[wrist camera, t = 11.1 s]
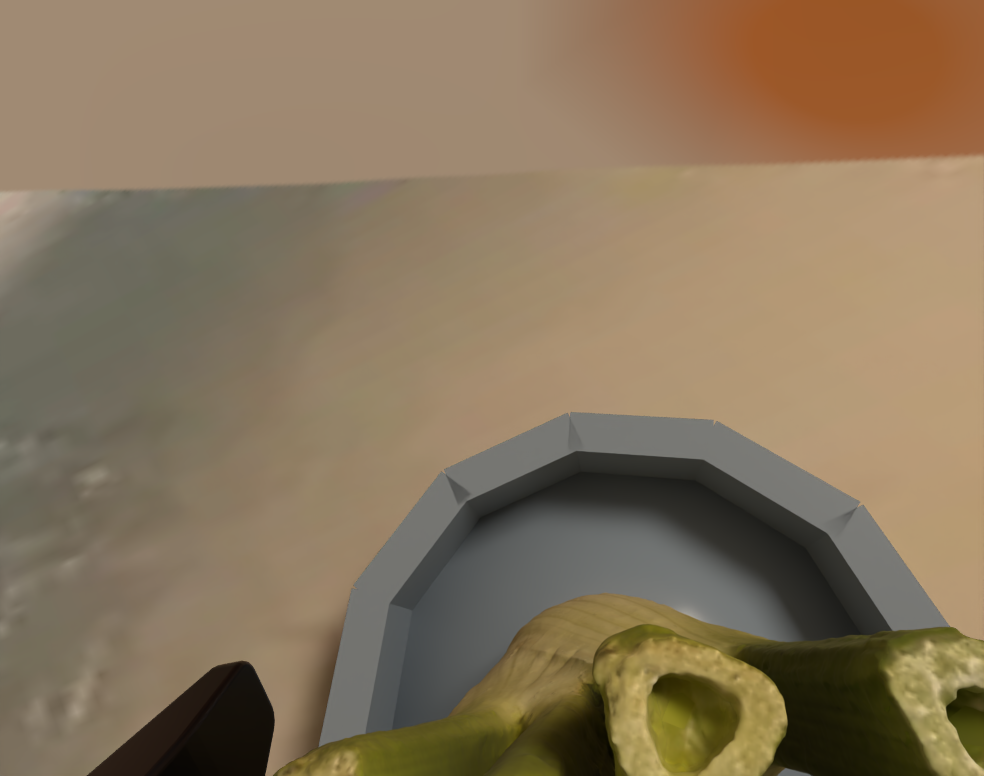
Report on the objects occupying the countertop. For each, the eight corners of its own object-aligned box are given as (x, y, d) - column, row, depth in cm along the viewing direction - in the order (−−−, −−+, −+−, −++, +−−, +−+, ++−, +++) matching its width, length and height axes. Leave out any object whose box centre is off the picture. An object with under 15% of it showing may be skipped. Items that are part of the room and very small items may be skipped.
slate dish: (980, 1166, 11) (1074, 1295, 9) (316, 980, 14) (257, 1041, 12) (895, 466, 16) (941, 432, 14) (419, 435, 19) (390, 402, 17)
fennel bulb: (762, 642, 15) (1167, 558, 4) (734, 893, 13) (1333, 2061, 2) (522, 577, 16) (323, 388, 5) (468, 793, 14) (13, 1153, 4)
